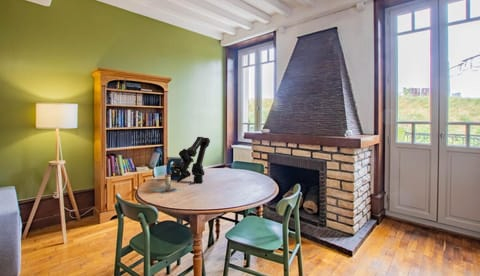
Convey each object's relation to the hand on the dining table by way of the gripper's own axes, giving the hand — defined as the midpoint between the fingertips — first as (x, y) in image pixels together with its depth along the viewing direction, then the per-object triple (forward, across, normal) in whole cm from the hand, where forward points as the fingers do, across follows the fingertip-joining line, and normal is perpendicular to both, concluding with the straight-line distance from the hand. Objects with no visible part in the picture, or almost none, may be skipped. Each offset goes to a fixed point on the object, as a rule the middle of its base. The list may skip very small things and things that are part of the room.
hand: (173, 180), depth 188 cm
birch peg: (+8, 0, +1) cm, 8 cm away
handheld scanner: (-9, -28, +21) cm, 36 cm away
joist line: (+8, 0, +1) cm, 8 cm away
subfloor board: (+8, -6, +2) cm, 11 cm away
